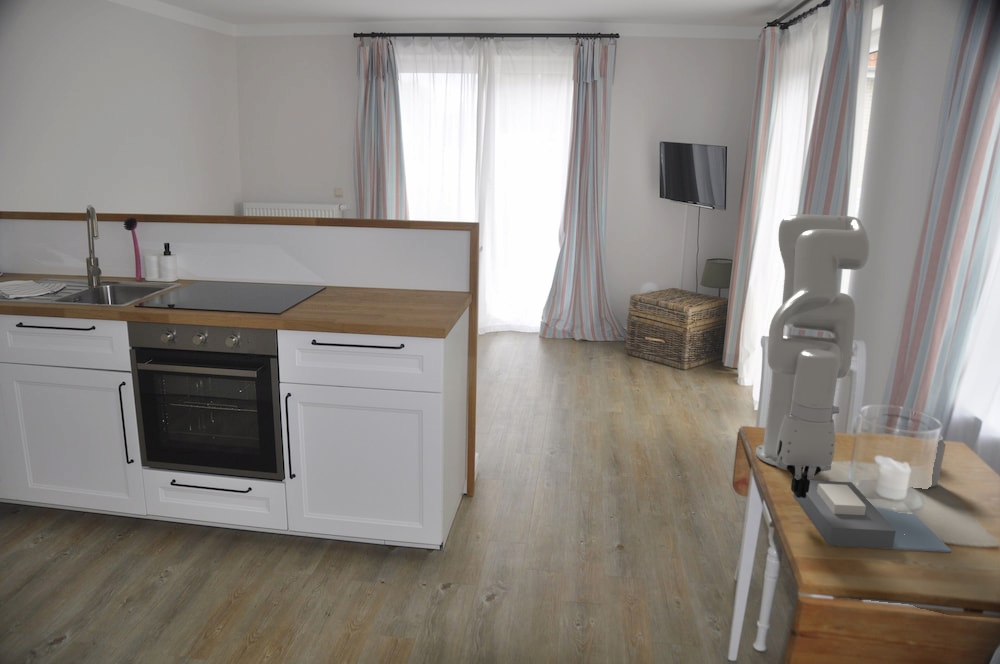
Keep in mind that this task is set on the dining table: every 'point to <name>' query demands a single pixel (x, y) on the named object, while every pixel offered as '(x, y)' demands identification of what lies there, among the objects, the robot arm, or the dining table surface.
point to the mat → (912, 533)
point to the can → (938, 461)
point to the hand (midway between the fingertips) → (798, 494)
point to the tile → (841, 499)
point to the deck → (847, 521)
